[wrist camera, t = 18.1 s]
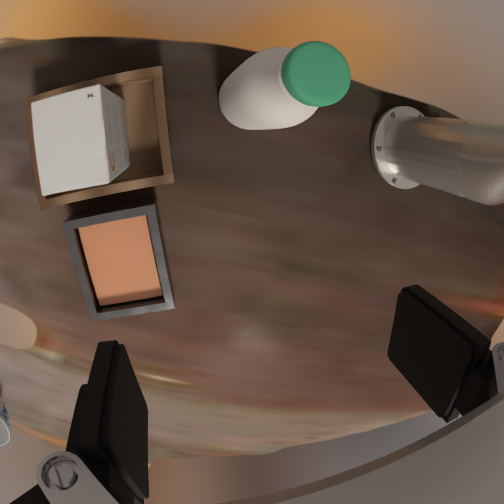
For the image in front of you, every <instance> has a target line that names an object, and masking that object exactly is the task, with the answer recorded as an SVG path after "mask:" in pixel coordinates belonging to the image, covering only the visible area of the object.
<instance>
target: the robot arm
mask: <svg viewBox="0 0 504 504" xmlns="http://www.w3.org/2000/svg"><path fill="white" fill-rule="evenodd" d="M371 153H372V159H373V162H374V165H375V167H376V170H377V172H378V173H379V175H380V176H381V177H382V179H383V180H385V181H386V182H387V183H388V184H390V185H392V186H394V187H397V188H401V189H411V188H414V187H416V186H418V185H419V184H423V185H426V186H430V187H433V188H436V189H440V190H443V191H446V192H449V193H452V194H455V195H458V196H461V197H464V198H467V199H470V200H473V201H476V202H479V203H482V204H486V205H498V204H501V203H504V123H494V122H485V121H475V120H465V119H452V118H436V117H425V116H424V115H423V114H422V113H421V112H419V111H418V110H416V109H414V108H412V107H408V106H397V107H393V108H391V109H388V110H387V111H386V112H385V113H383V114H382V115H381V117H380V118H379V119H378V121H377V123H376V125H375V127H374V130H373V133H372V139H371ZM490 344H491V340H489V339H488V338H487V337H486V336H484V335H483V334H482V333H481V332H479V331H478V330H477V329H476V328H474V327H473V326H472V325H471V324H469V323H468V322H467V321H466V320H464V319H463V318H462V317H460V316H459V315H458V314H456V313H455V312H454V311H453V310H451V309H450V308H449V307H447V306H446V305H445V304H443V303H442V302H441V301H439V300H438V299H437V298H435V297H434V296H433V295H431V294H430V293H429V292H427V291H426V290H425V289H423V288H422V287H421V286H419V285H412V286H408V287H404V288H403V289H402V290H401V293H399V295H398V299H397V305H396V311H395V317H394V322H393V328H392V333H391V338H390V343H389V348H388V357H389V359H390V361H391V362H392V363H393V364H394V365H395V367H396V368H397V369H398V370H399V371H400V372H401V373H402V375H403V376H404V377H405V378H406V379H407V380H408V382H409V383H410V384H411V385H412V386H413V387H414V389H415V390H416V391H417V392H418V393H419V395H420V396H421V397H422V398H423V399H424V400H425V402H426V403H427V404H428V405H429V406H430V408H431V409H432V410H433V411H434V412H435V413H436V415H437V416H438V417H442V418H443V419H444V420H445V421H446V423H448V422H450V421H452V420H453V419H455V418H457V417H458V415H459V413H460V414H461V415H462V417H461V418H459V419H457V420H455V421H454V422H452V423H450V424H448V425H447V426H445V427H443V428H441V429H439V430H438V431H436V432H434V433H432V434H430V435H428V436H426V437H424V438H422V439H420V440H418V441H416V442H414V443H412V444H410V445H408V446H406V447H404V448H402V449H399V450H397V451H395V452H393V453H391V454H388V455H386V456H384V457H381V458H379V459H376V460H374V461H372V462H369V463H367V464H364V465H361V466H359V467H356V468H354V469H351V470H348V471H345V472H343V473H340V474H337V475H334V476H331V477H328V478H325V479H322V480H318V481H315V482H312V483H309V484H305V485H302V486H298V487H295V488H291V489H287V490H283V491H279V492H275V493H271V494H267V495H262V496H258V497H253V498H248V499H242V500H237V501H231V502H226V503H220V504H504V342H501V343H497V344H496V345H495V346H494V347H493V349H492V351H490V350H489V346H490ZM36 473H37V474H36V475H37V477H36V478H37V481H38V484H37V485H36V486H34V487H33V488H32V489H30V490H29V491H27V492H26V493H25V494H23V495H22V496H20V497H19V498H17V499H16V500H14V501H13V502H12V503H10V504H144V498H148V497H149V481H148V409H147V404H146V401H145V399H144V396H143V394H142V392H141V389H140V386H139V384H138V381H137V379H136V376H135V373H134V371H133V368H132V365H131V363H130V360H129V357H128V354H127V351H126V348H125V346H124V345H123V344H118V342H117V341H116V340H113V341H103V342H99V343H98V346H97V349H96V353H95V357H94V360H93V364H92V368H91V372H90V376H89V380H88V384H83V385H82V386H81V388H80V390H79V394H78V398H77V402H76V406H75V410H74V414H73V419H72V423H71V428H70V432H69V437H68V442H67V447H66V451H59V452H54V453H52V454H49V455H48V456H46V457H45V458H44V459H43V460H42V461H41V463H40V464H39V465H38V468H37V472H36Z"/></svg>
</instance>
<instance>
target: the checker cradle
mask: <svg viewBox="0 0 504 504" xmlns="http://www.w3.org/2000/svg"><path fill="white" fill-rule="evenodd" d="M143 215H147V219H148V224H149V230H150V235H151V240H152V245H153V250H154V255H155V260H156V265H157V269H158V274H159V278H160V283H161V287H162V292H163V296H158V297H152V298H146V299H139V300H133V301H127V302H121V303H115V304H108V305H102V306H100V304H99V301H98V297H97V294H96V291H95V288H94V285H93V281H92V278H91V274H90V271H89V267H88V264H87V260H86V256H85V253H84V249H83V245H82V241H81V237H80V233H79V228H81V227H86V226H91V225H96V224H101V223H106V222H111V221H116V220H122V219H127V218H132V217H138V216H143ZM63 225H64V229H65V233H66V237H67V241H68V245H69V249H70V252H71V256H72V260H73V263H74V267H75V270H76V273H77V277H78V280H79V283H80V286H81V290H82V293H83V296H84V299H85V302H86V305H87V308H88V311H89V313H90V316H91V319H92V321H97V320H104V319H111V318H118V317H124V316H130V315H137V314H143V313H149V312H155V311H161V310H167V309H173V308H175V301H174V291H173V286H172V281H171V276H170V272H169V267H168V262H167V257H166V251H165V246H164V241H163V235H162V230H161V224H160V218H159V212H158V206H157V200H156V198H151V199H145V200H140V201H134V202H129V203H123V204H118V205H113V206H108V207H103V208H98V209H93V210H88V211H84V212H79V213H74V214H72V215H71V216H70V217H68V218H67V219H66V220H65V221H64V222H63Z"/></svg>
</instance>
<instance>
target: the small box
mask: <svg viewBox="0 0 504 504" xmlns="http://www.w3.org/2000/svg"><path fill="white" fill-rule="evenodd" d="M31 116H32V128H33V138H34V147H35V155H36V163H37V169H38V176H39V182H40V188H41V193H42V196H46V195H50V194H55V193H60V192H65V191H70V190H75V189H81V188H86V187H92V186H98V185H103V184H108V183H110V182H111V181H112V180H113V179H114V178H115V177H117V176H118V175H119V174H120V173H122V172H123V171H124V170H126V169H127V168H128V167H129V166H130V165H131V164H130V154H129V145H128V136H127V126H126V115H125V105H124V100H123V99H122V98H120V97H119V96H117V95H116V94H114V93H113V92H111V91H110V90H108V89H107V88H105V87H104V86H102V85H101V84H97V85H93V86H89V87H85V88H81V89H77V90H73V91H70V92H66V93H63V94H59V95H56V96H52V97H49V98H45V99H42V100H39V101H35V102H32V103H31Z"/></svg>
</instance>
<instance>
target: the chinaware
mask: <svg viewBox="0 0 504 504" xmlns="http://www.w3.org/2000/svg"><path fill="white" fill-rule="evenodd" d="M9 439H10V419H9V415H8V412H7V409H6V406H5V404H4V402H3V401H2V399H1V396H0V446H1V445H5V444H6V443H8V441H9Z"/></svg>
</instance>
